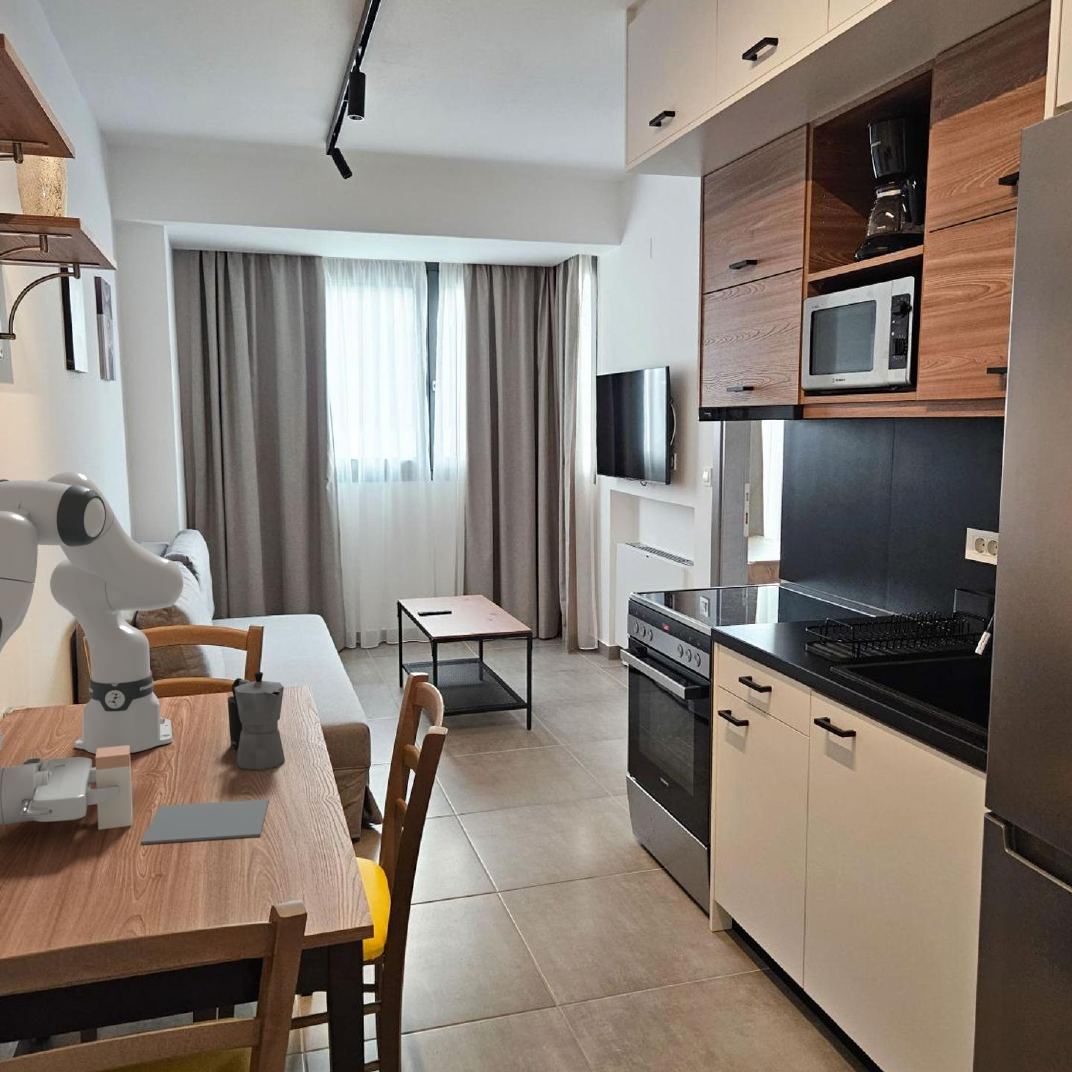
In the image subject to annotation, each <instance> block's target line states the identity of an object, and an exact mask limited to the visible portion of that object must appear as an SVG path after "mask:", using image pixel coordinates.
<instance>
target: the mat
mask: <svg viewBox="0 0 1072 1072" xmlns="http://www.w3.org/2000/svg"><path fill="white" fill-rule="evenodd" d="M269 801H270V800H269V799H267V798H266V799H250V800H249V799H248V800H235V801H233V800H232V801H218V802H217V801H215V802H203V803H202V802H200V803H186V804H183V803H182V804H169V805H159V807H158V809H157V810H156V812H155V814H154V816H153V818H152V820H151V821H150V824H149V826H148V828H147V829H146V832H145V833H144V835H143V837H142V839H141V841H140V845H146V844H149V845H150V844H163V843H175V842H176V843H177V842H193V841H207V840H224V839H236V838H237V839H238V838H239V839H240V838H253V837H255V838H256V837H261V836H262V835H261V834H262V831H263V827H264V823H265V818H266V814H267V811H268V806H269V803H270V802H269Z"/></svg>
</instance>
